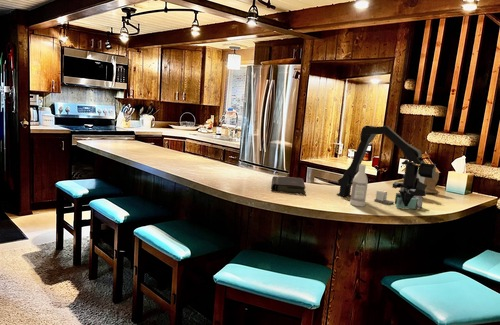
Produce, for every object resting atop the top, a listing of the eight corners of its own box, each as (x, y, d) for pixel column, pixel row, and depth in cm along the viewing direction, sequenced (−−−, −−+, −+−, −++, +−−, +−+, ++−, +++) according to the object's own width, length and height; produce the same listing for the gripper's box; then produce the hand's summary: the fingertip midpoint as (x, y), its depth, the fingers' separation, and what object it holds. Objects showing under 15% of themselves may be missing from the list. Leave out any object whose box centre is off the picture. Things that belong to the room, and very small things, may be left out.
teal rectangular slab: (413, 208, 190) (415, 198, 189) (416, 209, 188) (418, 199, 187) (395, 207, 188) (397, 197, 187) (398, 208, 186) (399, 198, 185)
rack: (417, 209, 189) (418, 198, 188) (393, 203, 197) (395, 193, 196) (423, 207, 195) (425, 196, 194) (400, 202, 203) (401, 191, 202)
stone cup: (433, 192, 249) (437, 169, 247) (441, 195, 237) (445, 172, 235) (409, 189, 249) (413, 167, 247) (417, 193, 237) (420, 169, 235)
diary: (270, 192, 199) (271, 182, 199) (271, 183, 224) (272, 175, 223) (306, 195, 198) (307, 186, 197) (303, 186, 223) (304, 178, 222)
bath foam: (353, 202, 190) (358, 163, 188) (366, 205, 186) (372, 165, 184) (347, 204, 185) (352, 163, 183) (360, 207, 181) (366, 166, 178)
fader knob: (382, 200, 197) (384, 192, 196) (375, 199, 199) (376, 190, 199) (386, 200, 200) (387, 191, 199) (378, 198, 202) (380, 189, 202)
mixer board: (388, 204, 194) (389, 202, 193) (374, 201, 199) (374, 199, 199) (393, 203, 198) (394, 201, 198) (379, 200, 203) (379, 198, 203)
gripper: (438, 179, 175) (432, 212, 178) (413, 172, 194) (408, 202, 196) (417, 178, 173) (411, 211, 175) (394, 171, 191) (389, 201, 193)
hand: (405, 206), depth 185 cm, fingers closed
